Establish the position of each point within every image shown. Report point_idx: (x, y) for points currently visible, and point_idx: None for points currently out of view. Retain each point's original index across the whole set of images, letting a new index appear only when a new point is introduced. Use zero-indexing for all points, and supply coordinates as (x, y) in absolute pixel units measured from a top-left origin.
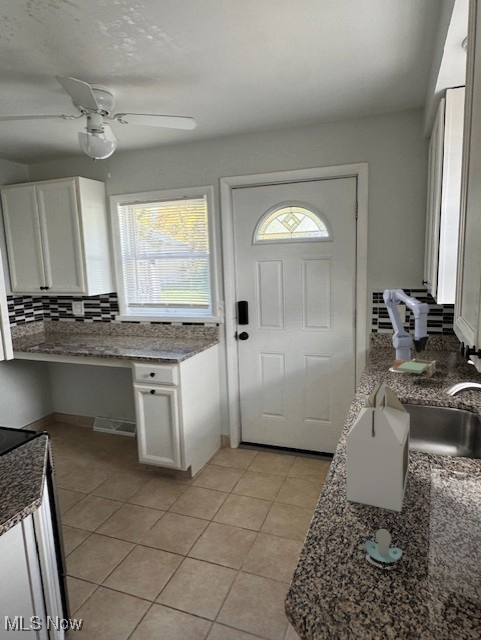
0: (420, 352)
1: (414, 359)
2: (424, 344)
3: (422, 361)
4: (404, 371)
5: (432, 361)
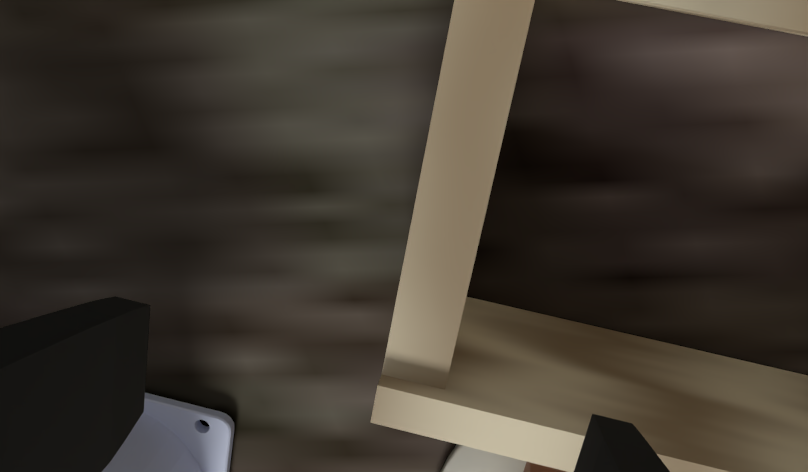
0: (629, 424)
1: (481, 420)
2: (7, 406)
3: (476, 239)
4: None
5: (480, 5)
